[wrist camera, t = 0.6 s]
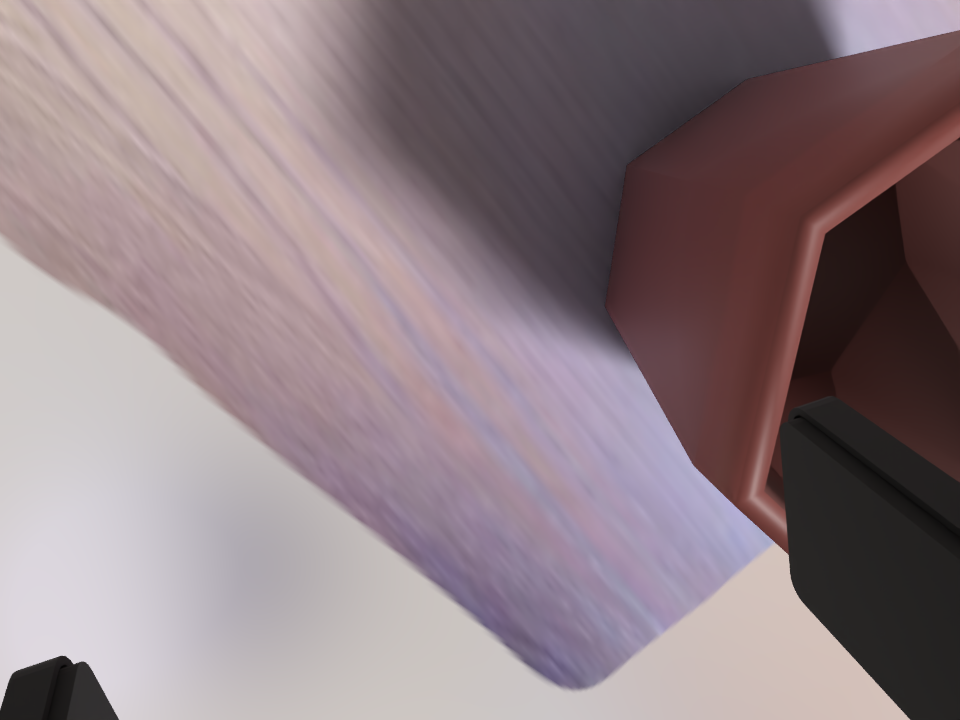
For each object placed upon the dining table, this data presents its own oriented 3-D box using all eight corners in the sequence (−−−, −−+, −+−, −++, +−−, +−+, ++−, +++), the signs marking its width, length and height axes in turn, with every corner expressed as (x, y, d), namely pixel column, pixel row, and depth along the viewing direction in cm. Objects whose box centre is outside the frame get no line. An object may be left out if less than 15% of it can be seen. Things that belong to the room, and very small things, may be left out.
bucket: (751, 497, 55) (1115, 834, 33) (452, 349, 47) (672, 675, 24) (996, 144, 51) (1611, 258, 28) (716, -95, 42) (1290, -202, 20)
